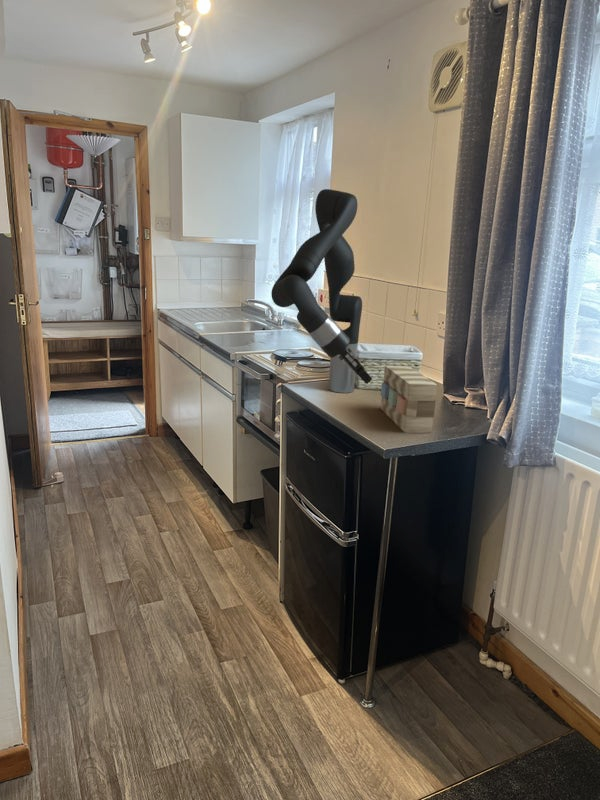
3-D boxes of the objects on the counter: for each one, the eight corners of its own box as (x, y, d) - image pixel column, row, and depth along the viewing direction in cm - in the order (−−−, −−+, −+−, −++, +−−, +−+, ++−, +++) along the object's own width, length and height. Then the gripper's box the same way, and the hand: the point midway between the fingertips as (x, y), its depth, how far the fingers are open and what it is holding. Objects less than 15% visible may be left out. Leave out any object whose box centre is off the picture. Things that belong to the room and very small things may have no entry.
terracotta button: (396, 409, 169) (397, 396, 168) (406, 409, 169) (408, 396, 168) (400, 413, 165) (401, 399, 164) (411, 413, 166) (412, 399, 165)
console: (380, 408, 188) (385, 365, 184) (404, 408, 189) (409, 366, 185) (404, 432, 165) (409, 384, 161) (431, 432, 166) (437, 384, 162)
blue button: (380, 394, 184) (381, 382, 183) (390, 395, 185) (391, 382, 184) (384, 398, 180) (385, 385, 179) (394, 398, 181) (395, 385, 180)
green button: (388, 401, 177) (389, 389, 175) (398, 402, 177) (399, 389, 176) (391, 405, 173) (393, 392, 172) (402, 405, 173) (403, 392, 172)
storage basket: (353, 390, 210) (357, 349, 206) (349, 379, 225) (352, 341, 221) (420, 393, 211) (424, 353, 207) (410, 382, 226) (414, 345, 222)
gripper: (344, 331, 152) (385, 377, 158) (334, 323, 165) (372, 366, 170) (323, 350, 153) (364, 396, 158) (314, 341, 165) (353, 384, 171)
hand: (368, 381), depth 164 cm, fingers closed
